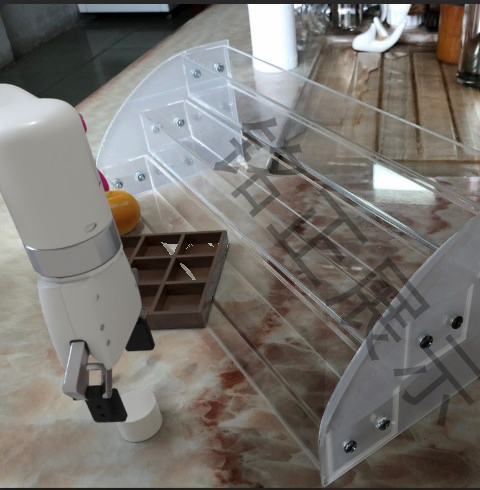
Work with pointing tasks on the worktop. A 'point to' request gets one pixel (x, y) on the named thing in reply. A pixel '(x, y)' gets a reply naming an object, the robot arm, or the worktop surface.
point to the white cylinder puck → (140, 415)
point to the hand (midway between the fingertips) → (127, 382)
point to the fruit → (123, 210)
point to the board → (176, 275)
